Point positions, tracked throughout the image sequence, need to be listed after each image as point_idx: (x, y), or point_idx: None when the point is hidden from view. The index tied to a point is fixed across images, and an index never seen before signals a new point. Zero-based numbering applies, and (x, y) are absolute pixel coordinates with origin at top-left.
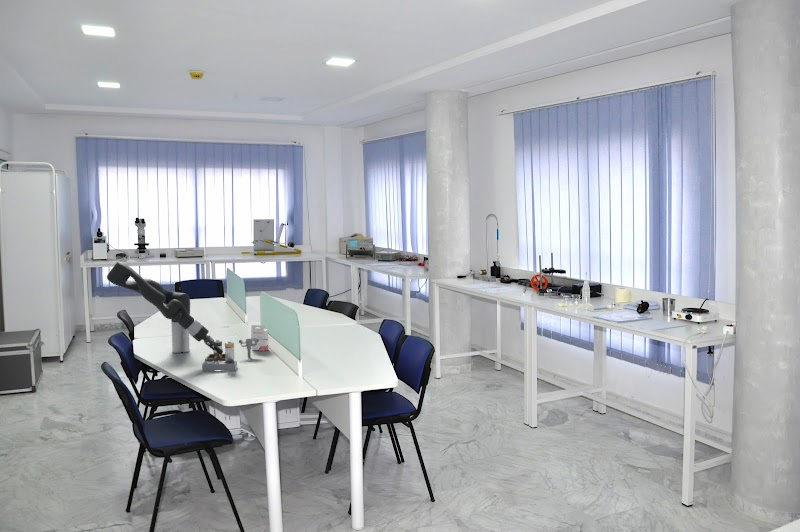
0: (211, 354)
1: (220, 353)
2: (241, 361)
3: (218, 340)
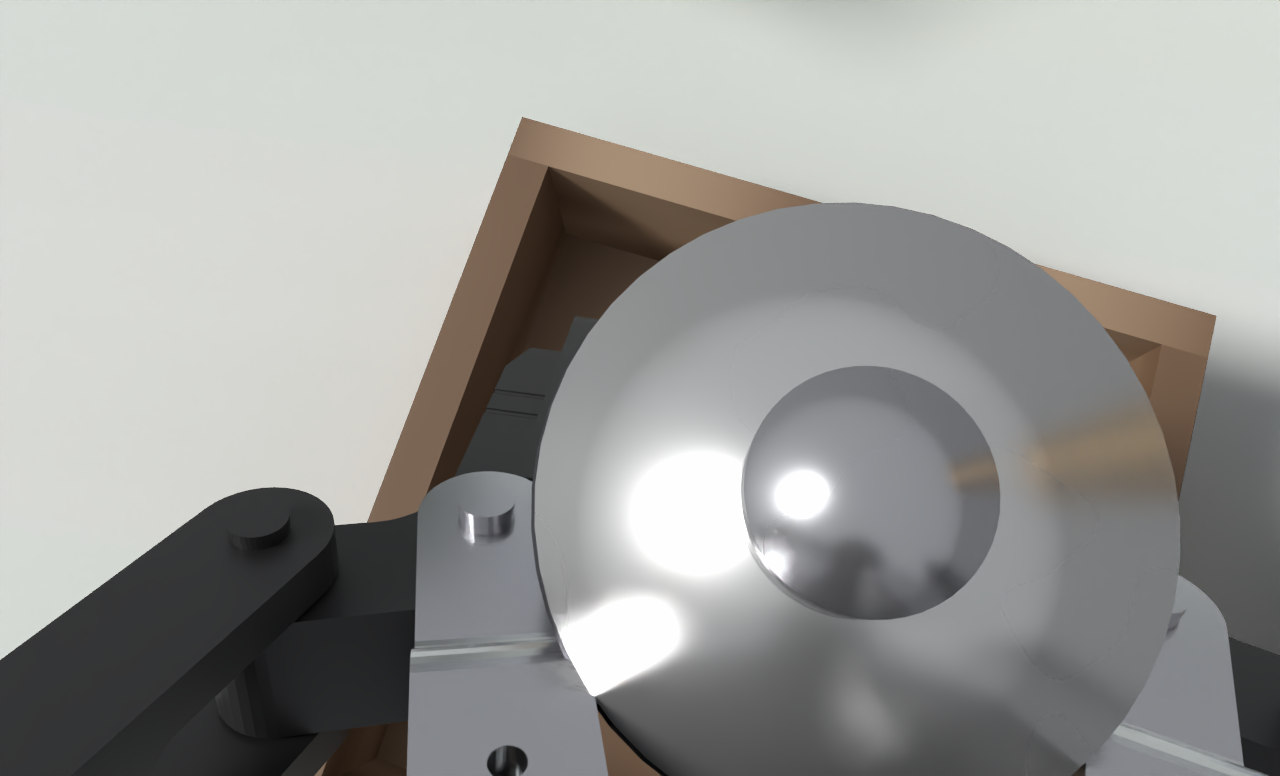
0: None
1: None
2: (807, 2)
3: (983, 437)
